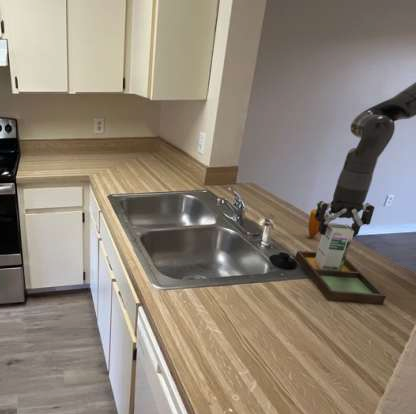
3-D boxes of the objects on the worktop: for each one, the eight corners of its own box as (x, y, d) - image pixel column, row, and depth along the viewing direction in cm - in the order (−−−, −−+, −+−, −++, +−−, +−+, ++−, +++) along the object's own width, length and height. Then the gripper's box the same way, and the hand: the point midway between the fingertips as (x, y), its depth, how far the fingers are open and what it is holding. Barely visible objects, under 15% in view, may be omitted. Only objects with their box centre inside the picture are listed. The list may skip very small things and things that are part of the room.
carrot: (306, 233, 129) (317, 197, 123) (321, 238, 125) (332, 201, 119) (301, 237, 126) (311, 200, 120) (316, 242, 122) (327, 204, 116)
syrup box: (320, 270, 104) (333, 229, 98) (313, 260, 109) (325, 220, 103) (341, 272, 103) (355, 231, 97) (333, 262, 108) (346, 222, 102)
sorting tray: (339, 260, 111) (342, 253, 109) (382, 304, 91) (386, 296, 89) (295, 257, 112) (297, 250, 111) (327, 299, 92) (330, 291, 91)
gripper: (333, 188, 92) (317, 239, 99) (389, 190, 91) (369, 242, 97) (320, 179, 99) (306, 227, 106) (372, 181, 97) (355, 230, 104)
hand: (336, 234), depth 101 cm, fingers open, 8 cm apart
